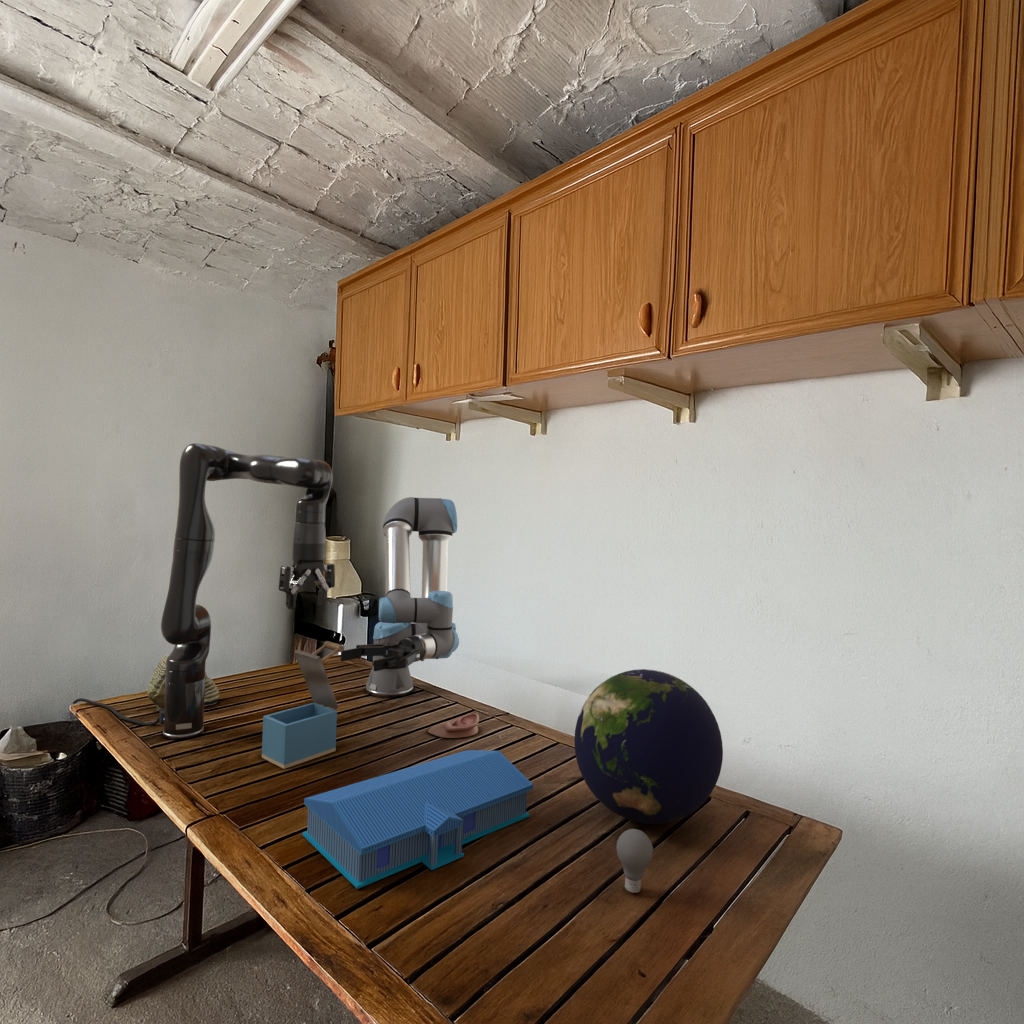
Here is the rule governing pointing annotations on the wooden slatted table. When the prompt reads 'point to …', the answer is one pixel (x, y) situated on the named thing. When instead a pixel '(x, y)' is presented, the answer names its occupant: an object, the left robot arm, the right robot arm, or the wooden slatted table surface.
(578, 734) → the globe
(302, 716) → the chest
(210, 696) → the fossil
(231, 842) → the wooden slatted table surface
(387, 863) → the model building
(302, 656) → the lid
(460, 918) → the wooden slatted table surface
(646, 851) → the light bulb
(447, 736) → the anatomical model
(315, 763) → the wooden slatted table surface
